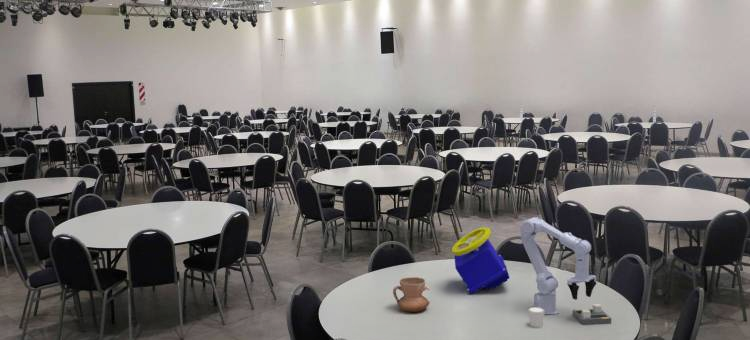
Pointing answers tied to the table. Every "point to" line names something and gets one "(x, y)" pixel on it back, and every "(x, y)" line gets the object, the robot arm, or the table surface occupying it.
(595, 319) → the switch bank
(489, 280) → the blue valve with handwheel
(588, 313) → the white rectangular block
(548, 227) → the robot arm
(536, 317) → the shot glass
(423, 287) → the ceramic jug
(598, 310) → the white block
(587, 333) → the table surface
